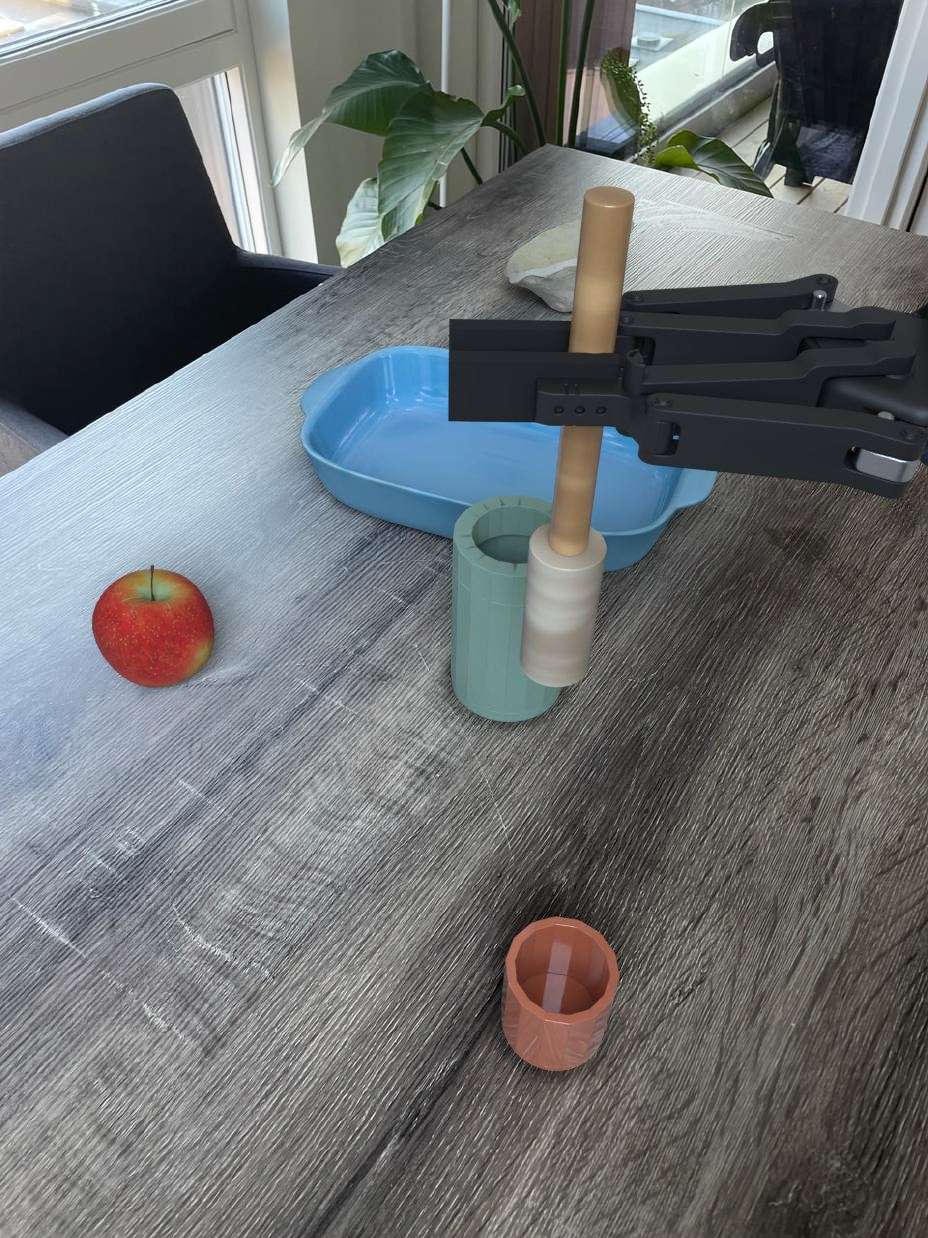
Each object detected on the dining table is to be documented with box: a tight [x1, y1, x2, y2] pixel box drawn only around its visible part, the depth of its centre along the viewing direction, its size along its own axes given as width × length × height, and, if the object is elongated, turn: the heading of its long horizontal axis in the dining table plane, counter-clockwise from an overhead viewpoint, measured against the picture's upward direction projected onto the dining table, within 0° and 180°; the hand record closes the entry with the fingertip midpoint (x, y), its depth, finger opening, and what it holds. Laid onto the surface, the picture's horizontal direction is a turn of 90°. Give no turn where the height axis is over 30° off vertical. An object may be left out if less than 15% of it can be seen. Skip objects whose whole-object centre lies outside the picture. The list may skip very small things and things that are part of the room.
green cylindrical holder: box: [450, 495, 562, 723], centre depth 69 cm, size 8×8×14 cm
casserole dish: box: [299, 344, 719, 573], centre depth 88 cm, size 37×22×7 cm, turn 70°
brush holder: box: [500, 916, 620, 1072], centre depth 54 cm, size 6×6×6 cm
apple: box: [91, 564, 216, 689], centre depth 71 cm, size 8×8×10 cm
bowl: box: [503, 217, 635, 313], centre depth 114 cm, size 15×14×10 cm
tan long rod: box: [520, 185, 636, 688], centre depth 43 cm, size 4×4×24 cm
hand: (449, 369), depth 40 cm, fingers closed on tan long rod, 2 cm apart
